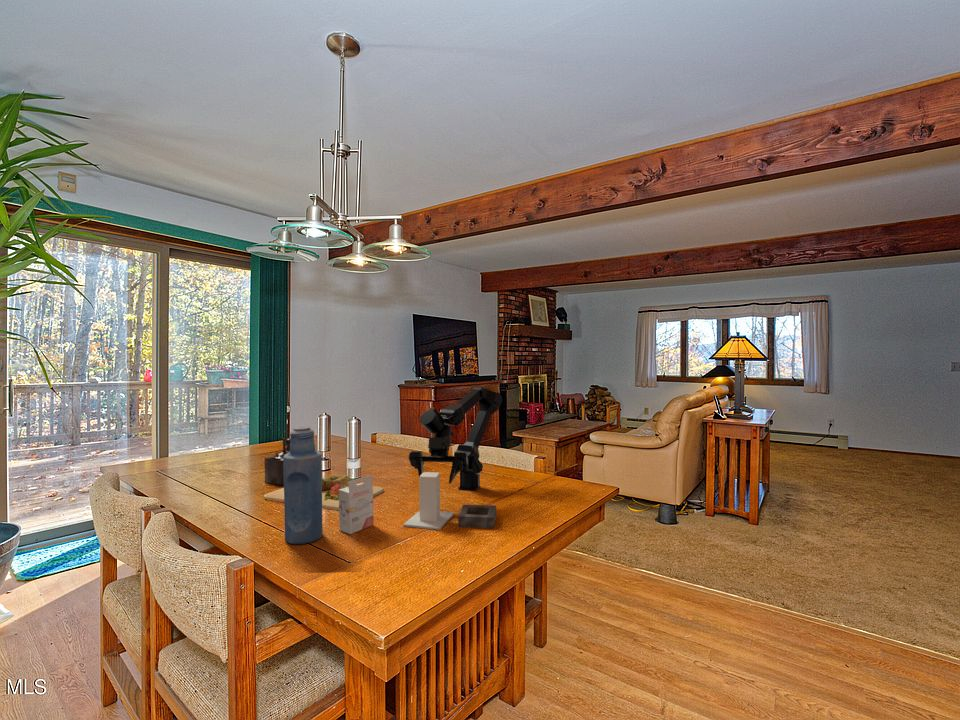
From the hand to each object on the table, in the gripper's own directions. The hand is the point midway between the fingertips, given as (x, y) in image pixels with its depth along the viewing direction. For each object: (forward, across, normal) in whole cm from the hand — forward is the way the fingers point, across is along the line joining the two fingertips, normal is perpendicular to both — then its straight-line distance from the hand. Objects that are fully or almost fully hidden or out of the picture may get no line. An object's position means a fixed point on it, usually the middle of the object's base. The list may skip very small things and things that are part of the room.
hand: (435, 483), depth 145 cm
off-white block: (+11, 0, +1) cm, 11 cm away
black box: (-13, -63, +26) cm, 70 cm away
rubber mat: (+12, 0, +1) cm, 12 cm away
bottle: (+23, -31, -10) cm, 40 cm away
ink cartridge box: (+17, -20, -4) cm, 27 cm away
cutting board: (-2, -42, +16) cm, 45 cm away
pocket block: (+11, +14, +2) cm, 18 cm away
